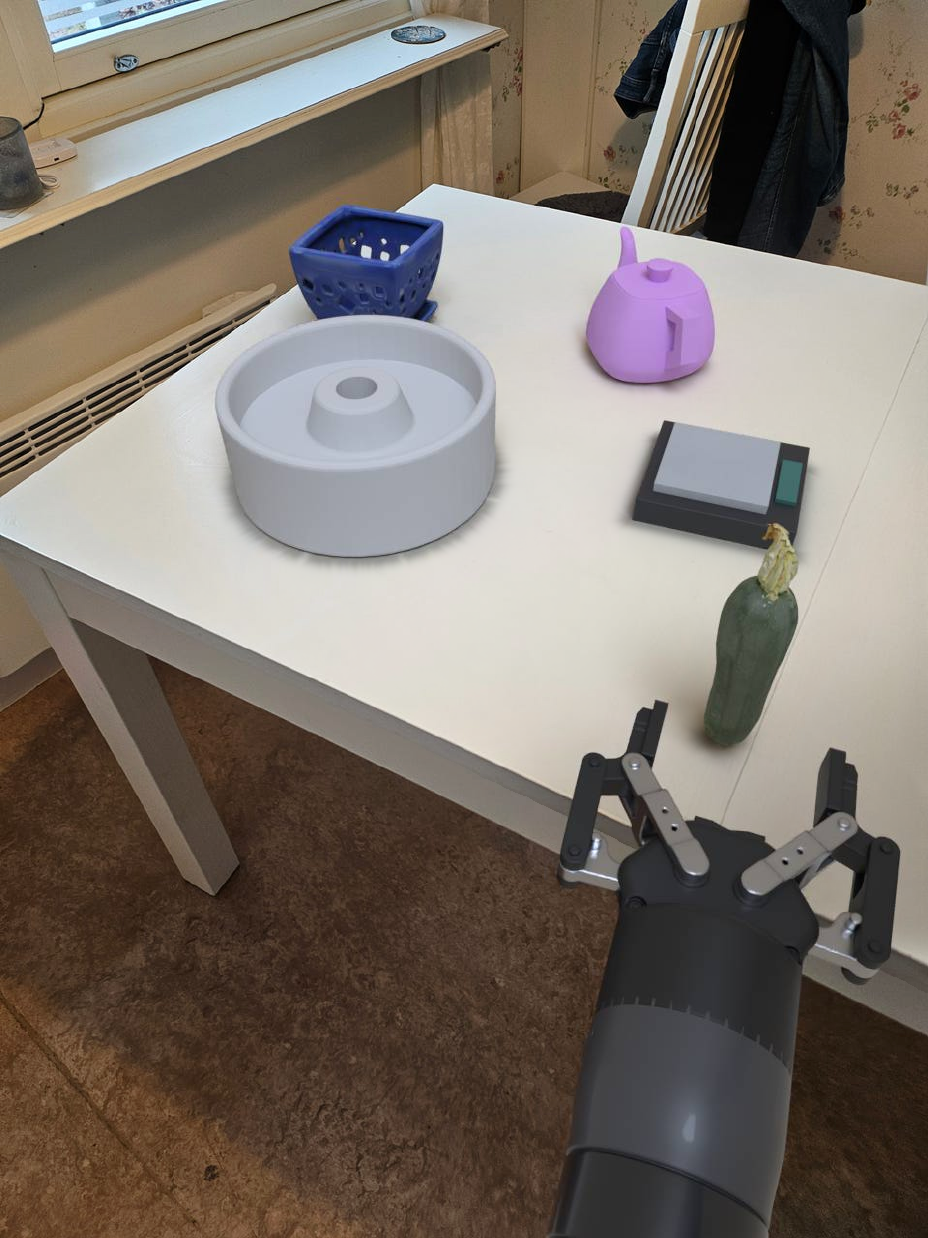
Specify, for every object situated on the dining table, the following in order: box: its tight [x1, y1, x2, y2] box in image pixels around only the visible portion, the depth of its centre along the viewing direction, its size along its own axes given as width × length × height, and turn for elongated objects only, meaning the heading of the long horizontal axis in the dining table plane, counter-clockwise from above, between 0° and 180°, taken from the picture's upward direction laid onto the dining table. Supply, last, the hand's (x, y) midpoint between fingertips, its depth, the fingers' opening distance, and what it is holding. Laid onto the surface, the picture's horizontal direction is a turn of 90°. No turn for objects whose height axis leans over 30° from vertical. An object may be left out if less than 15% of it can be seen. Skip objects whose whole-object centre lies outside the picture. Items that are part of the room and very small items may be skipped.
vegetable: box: [703, 523, 799, 747], centre depth 55 cm, size 4×4×20 cm
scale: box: [632, 419, 811, 550], centre depth 81 cm, size 14×13×4 cm
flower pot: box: [288, 204, 444, 322], centre depth 99 cm, size 13×13×12 cm
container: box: [214, 315, 497, 558], centre depth 81 cm, size 25×25×10 cm
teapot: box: [585, 225, 716, 384], centre depth 95 cm, size 13×20×11 cm
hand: (743, 733), depth 44 cm, fingers open, 8 cm apart
